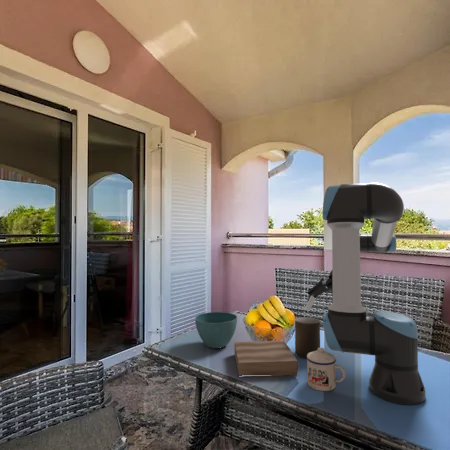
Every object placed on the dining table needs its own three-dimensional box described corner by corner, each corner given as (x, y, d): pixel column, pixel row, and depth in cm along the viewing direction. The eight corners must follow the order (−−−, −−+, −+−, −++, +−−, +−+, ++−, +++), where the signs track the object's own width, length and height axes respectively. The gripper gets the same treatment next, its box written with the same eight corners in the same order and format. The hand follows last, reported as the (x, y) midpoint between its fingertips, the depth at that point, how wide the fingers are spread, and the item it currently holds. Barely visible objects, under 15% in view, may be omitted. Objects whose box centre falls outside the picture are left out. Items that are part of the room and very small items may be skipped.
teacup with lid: (302, 387, 103) (301, 349, 103) (312, 376, 110) (312, 341, 110) (341, 397, 96) (340, 358, 96) (349, 385, 103) (348, 348, 104)
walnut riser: (297, 375, 111) (297, 360, 111) (238, 377, 110) (238, 362, 110) (284, 353, 131) (283, 340, 131) (234, 354, 130) (234, 342, 130)
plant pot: (186, 348, 137) (186, 319, 137) (209, 336, 153) (209, 309, 153) (224, 356, 128) (224, 325, 128) (244, 342, 144) (244, 314, 144)
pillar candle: (316, 361, 122) (316, 321, 123) (291, 356, 128) (291, 317, 128) (323, 353, 131) (322, 315, 131) (299, 348, 136) (299, 312, 136)
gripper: (370, 281, 136) (351, 324, 127) (320, 275, 156) (300, 312, 147) (363, 270, 133) (343, 313, 124) (313, 265, 153) (292, 302, 144)
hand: (320, 312), depth 135 cm, fingers open, 13 cm apart
